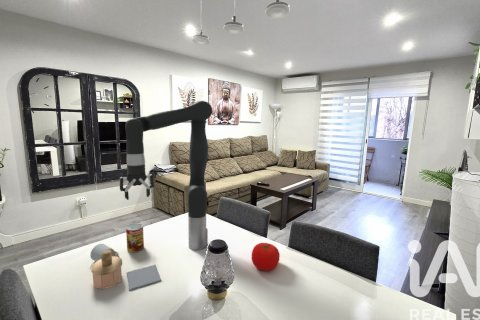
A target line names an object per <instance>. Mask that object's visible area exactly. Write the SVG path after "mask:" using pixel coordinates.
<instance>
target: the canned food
mask: <svg viewBox="0 0 480 320" xmlns="http://www.w3.org/2000/svg"><path fill="white" fill-rule="evenodd" d="M125 234H126V249H127V250H126V251H127V252H128V253H132V254H133V253H139V252H141V251H143V250H144V248H145V243H144V242H145V241H144V225H143V224H142V223H138V222H137V223H132V224H129V225H127V226H126V227H125Z"/></svg>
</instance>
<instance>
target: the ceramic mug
mask: <svg viewBox="0 0 480 320" xmlns="http://www.w3.org/2000/svg"><path fill="white" fill-rule="evenodd" d="M106 250H110V251H111V254H112V256H116V257H119V255H120V254H119V252H118V251H115V249H114V248H112V247H110V246H108V245H106V244H104V243H98V244H96V245H95V246H93V248H92V249H91V251H90V259H91V260H92V261H94V262H96V261H98V260H100V259H101V253H102V252H103V251H106Z"/></svg>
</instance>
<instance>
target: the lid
mask: <svg viewBox="0 0 480 320" xmlns="http://www.w3.org/2000/svg"><path fill="white" fill-rule="evenodd" d="M122 266H123V259H122V258H121V257H120V256H118V257H116V256H112V254H111V251H110V250H106V251H103V252H102V253H101V259H100V260H98V261H94V263H92V265H91V267H90V268H91V274H92V275H93V274H95V275H106V274H110V273H112V272H115V271H116V270H118V269H119V268H120V267H121V268H122Z"/></svg>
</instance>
